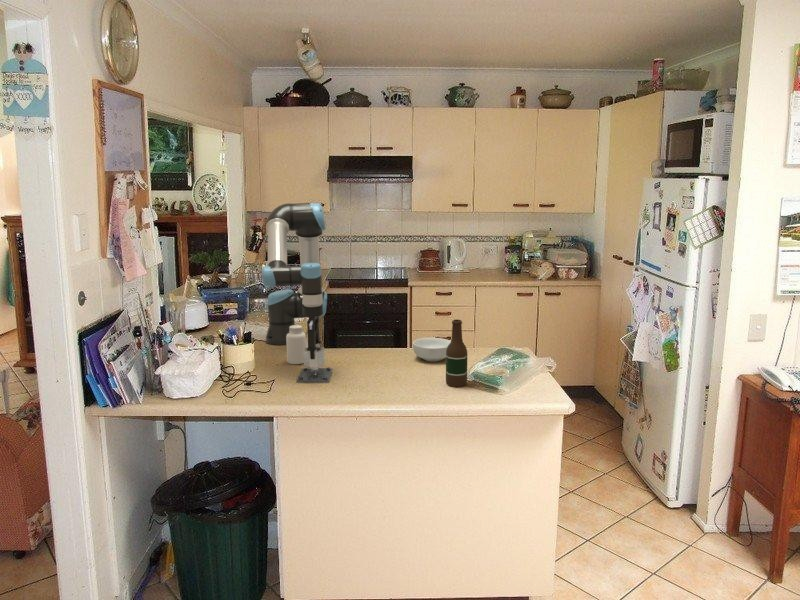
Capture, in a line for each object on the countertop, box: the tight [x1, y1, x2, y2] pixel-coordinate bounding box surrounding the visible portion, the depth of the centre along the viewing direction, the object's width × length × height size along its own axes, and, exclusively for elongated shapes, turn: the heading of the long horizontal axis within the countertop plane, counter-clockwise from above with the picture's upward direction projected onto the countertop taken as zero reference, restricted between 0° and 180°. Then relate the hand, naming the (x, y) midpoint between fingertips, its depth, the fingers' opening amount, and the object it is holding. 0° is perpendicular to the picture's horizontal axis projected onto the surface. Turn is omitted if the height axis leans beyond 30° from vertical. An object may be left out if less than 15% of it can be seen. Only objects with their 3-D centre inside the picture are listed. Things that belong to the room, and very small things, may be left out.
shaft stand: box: [296, 366, 334, 384], centre depth 241 cm, size 14×12×6 cm
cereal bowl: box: [412, 337, 451, 362], centre depth 262 cm, size 17×17×7 cm
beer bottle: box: [445, 319, 468, 388], centre depth 229 cm, size 8×8×24 cm
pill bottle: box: [286, 324, 307, 365], centre depth 259 cm, size 8×8×15 cm
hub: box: [303, 345, 326, 368], centre depth 240 cm, size 8×8×6 cm
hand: (314, 363), depth 241 cm, fingers closed on hub, 7 cm apart
